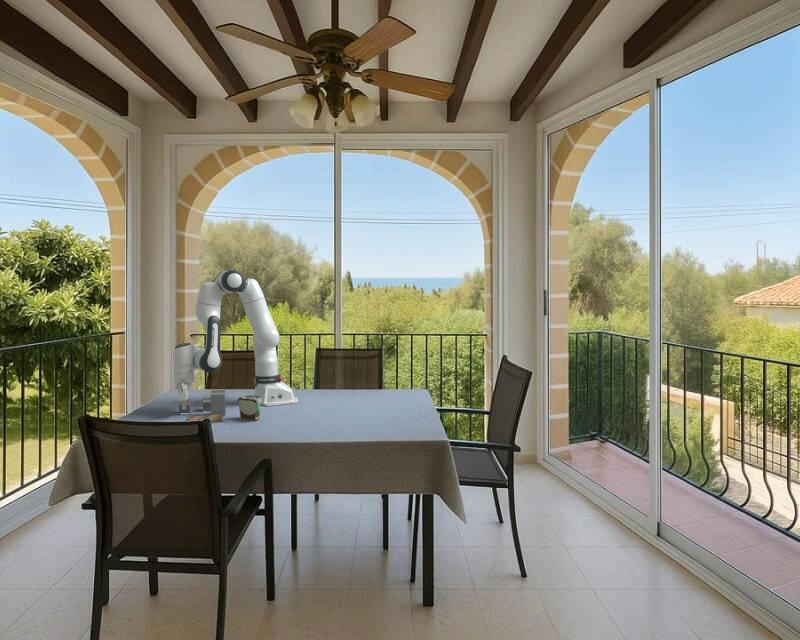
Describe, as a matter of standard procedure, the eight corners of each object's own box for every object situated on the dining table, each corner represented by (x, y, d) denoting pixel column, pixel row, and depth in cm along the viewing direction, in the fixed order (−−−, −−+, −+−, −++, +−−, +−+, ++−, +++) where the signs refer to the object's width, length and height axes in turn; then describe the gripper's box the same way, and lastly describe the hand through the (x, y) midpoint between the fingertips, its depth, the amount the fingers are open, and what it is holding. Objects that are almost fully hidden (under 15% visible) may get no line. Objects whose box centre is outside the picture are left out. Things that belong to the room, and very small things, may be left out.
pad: (222, 416, 242) (222, 414, 242) (222, 422, 233) (222, 419, 233) (189, 419, 238) (189, 416, 238) (187, 424, 229) (187, 421, 229)
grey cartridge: (213, 409, 258) (212, 396, 258) (212, 411, 254) (212, 398, 253) (203, 409, 257) (203, 397, 256) (202, 411, 252) (202, 399, 252)
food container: (268, 418, 239) (267, 396, 238) (257, 421, 233) (257, 399, 233) (248, 415, 245) (247, 393, 244) (238, 418, 240) (237, 396, 239)
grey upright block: (225, 412, 250) (224, 389, 249) (225, 415, 244) (224, 392, 243) (211, 413, 248) (211, 390, 248) (211, 416, 242) (210, 392, 242)
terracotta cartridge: (190, 411, 252) (190, 399, 252) (189, 413, 248) (189, 401, 247) (180, 412, 251) (179, 399, 250) (179, 414, 246) (178, 401, 246)
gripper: (189, 381, 239) (190, 412, 240) (192, 374, 259) (193, 402, 260) (174, 382, 237) (175, 413, 238) (178, 375, 257) (179, 403, 258)
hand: (184, 407), depth 249 cm, fingers closed on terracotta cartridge, 4 cm apart
